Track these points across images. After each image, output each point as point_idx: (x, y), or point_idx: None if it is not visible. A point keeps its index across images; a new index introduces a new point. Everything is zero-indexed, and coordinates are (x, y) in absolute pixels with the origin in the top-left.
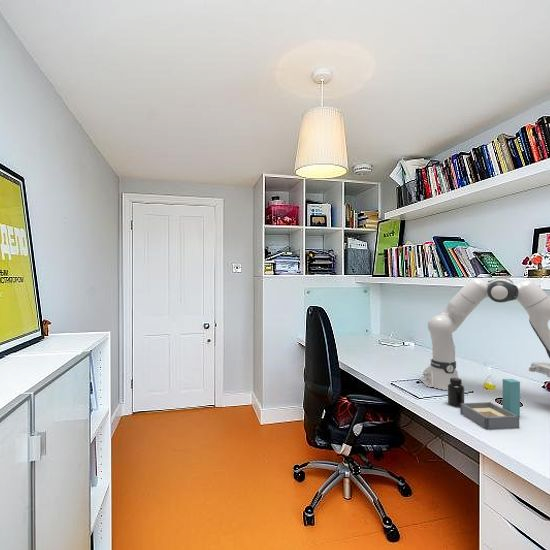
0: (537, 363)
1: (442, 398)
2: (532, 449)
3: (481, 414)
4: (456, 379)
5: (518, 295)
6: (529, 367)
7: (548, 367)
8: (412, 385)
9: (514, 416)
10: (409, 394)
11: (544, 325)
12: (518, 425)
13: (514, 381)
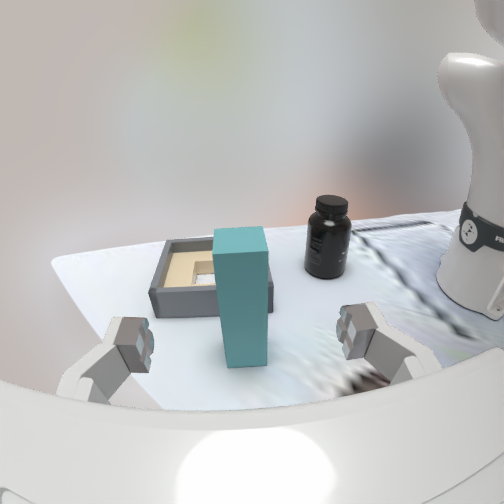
0: (498, 386)
1: (367, 260)
2: (83, 282)
3: (186, 240)
4: (327, 199)
5: None
6: (369, 302)
7: (281, 416)
8: (437, 242)
9: (153, 283)
10: (371, 226)
11: None
12: (155, 310)
13: (220, 241)
